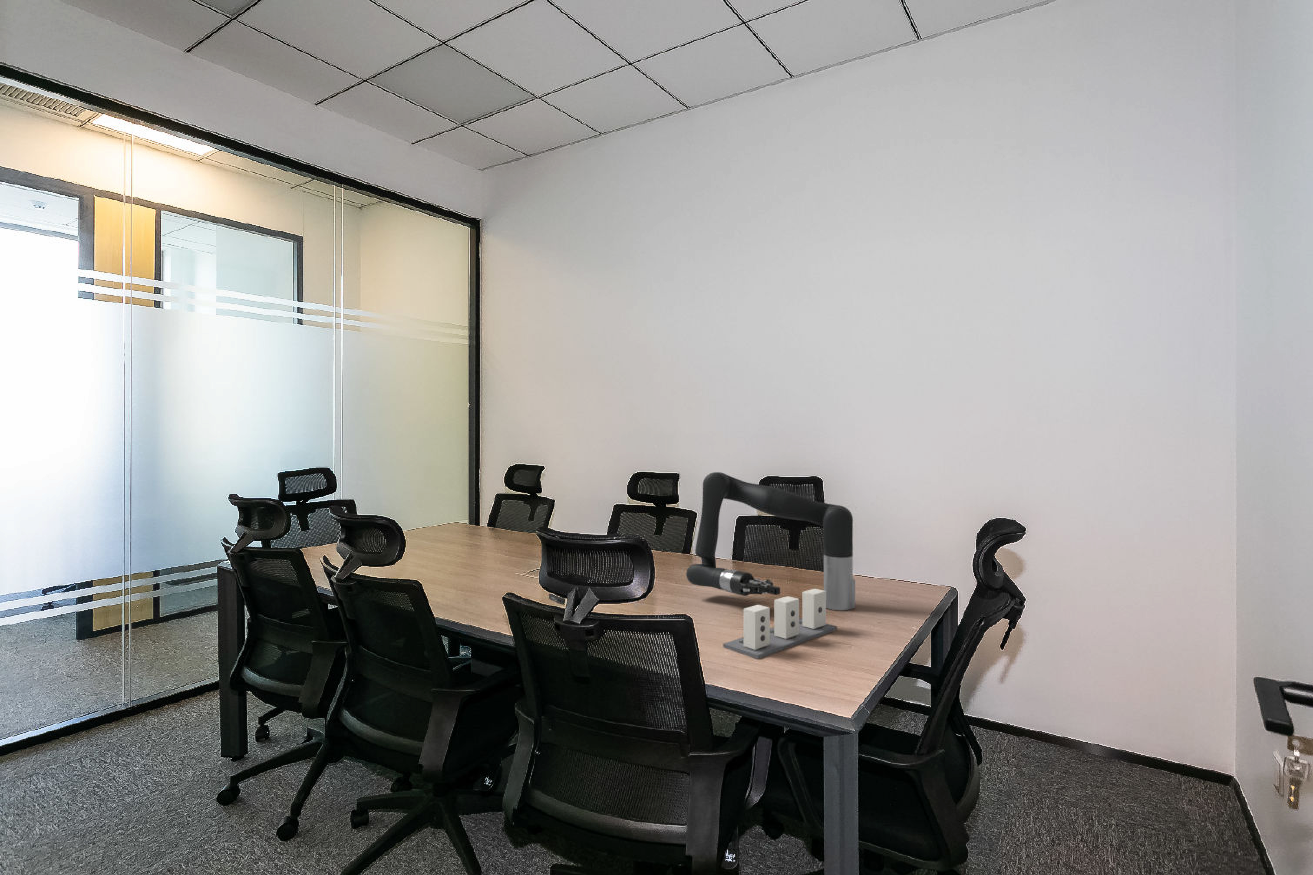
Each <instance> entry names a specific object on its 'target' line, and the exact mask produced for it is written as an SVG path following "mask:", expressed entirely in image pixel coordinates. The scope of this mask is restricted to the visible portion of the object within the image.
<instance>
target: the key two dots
mask: <svg viewBox="0 0 1313 875" xmlns="http://www.w3.org/2000/svg"><path fill="white" fill-rule="evenodd" d="M773 602H774V603H773V604H774V605H773V606H774V608H773V610H774V616H773V617H774V618H773V619H774V626H773V627H774V635H775V636H778V637H781V638H784V639H787V638H790V637H793V636H796V635H798V634H799V619H800V598H797V597H793V596H788V595H787V596H784V597H783V596H782V597H780V598H775V599H774V600H773Z"/></svg>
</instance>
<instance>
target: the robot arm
mask: <svg viewBox="0 0 1313 875" xmlns="http://www.w3.org/2000/svg"><path fill="white" fill-rule="evenodd" d="M724 500H728V501H735V502H738V503H741V504H742V503H743V504H745V505H746V506H748V507H751V508H752V509H755V510H756V511H759V512H762V513H765V514H767V515H771V516H773V517H778V518H782V519H789V520H795V521H806V522H810V523H813V524H815V525H818V526H821V527H822V537H823V540H822V541H823V542H822V543H823V544H822V546H823V591H826V609H829V610H833V611H834V610H835V611H849V610H852V609H856V579H855V578H854V577H853V569H854V565H853V564H854V560H853V553H854V552H853V551H854V547H853V546H854V545H853V544H854V543H853V542H854V541H853V537H854V535H853V534H854V533H853V529H854V528H853V527H854V526H853V524H854V523H853V521H854V519H853V514H852V512H851V511H850V510H849V509H848V507H845V506H842V505H838V504H833V503H826V502H821V501H816V500H814V499H809V498H808V497H805V496H801V495H799V494H796V493H793V492H790V491H787V490H784V489H781V488H777V487H773V486H768V485H765V484H764V485H763V484H757V483H752V482H751V483H750V482H746V481H744V480H741V479H738V478H735V477H734V476H730V475H728V474H726V473H723V472H719V471H718V472H716V471H715V472H711V473H708V474H707V475H706V476H705V477H704V479H703V482H702V504H701V505H702V506H701V507H702V508H701V516H700V521H699V522H700V523H699V527H698V533H697V538H696V544H695V550H694V554H695V555H696V556H697V557H699V558H701V563H695V564H691V565H690V566H689V567H687V569H686V573H685V576H686V579H687V580H688V582H689V583H690V584H692V585H694V586H700V587H708V588H714V589H718V590H721V591H725V592H728V593H730V594H735V595H738V596H739V595H740V596H743V597H747V596H749V595H763V594H765V595H767V594H770V595H774V596H778V595H781V588H780V587H779V586H775V585H774V583H773V582H772V580H770V579H769V578H767V579H765V580H761V579H759V578H754V576H753V574H752V573H750V572H746V571H741V570H736V569H728V568H723V567H717V562H716V561H717V560H716V550H717V546H718V541H719V540H718V539H719V521H720V513H721V508H722V505H723V501H724Z"/></svg>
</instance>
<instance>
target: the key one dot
mask: <svg viewBox="0 0 1313 875" xmlns="http://www.w3.org/2000/svg"><path fill="white" fill-rule="evenodd" d="M801 594H802V595H801V598H802V600H801V601H802V603H801V604H802V605H801V606H802V607H801V608H802V609H801V610H802V617H801V618H802V626H805V627H808V628H812V629H815V628H818V627H821V626H824V625H826V623H827V608H826V591H824V589H823V590H822V589H818V588H811V589H808V590H805V591H802V593H801Z"/></svg>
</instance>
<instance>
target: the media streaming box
mask: <svg viewBox="0 0 1313 875" xmlns="http://www.w3.org/2000/svg"><path fill="white" fill-rule="evenodd" d="M548 599H550V600H551V601H553V602H555V603H557V604H560V605H563V606H564V603H565V599H564V598H561V597H558V596H555V595H553V594H549V593H548Z"/></svg>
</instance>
